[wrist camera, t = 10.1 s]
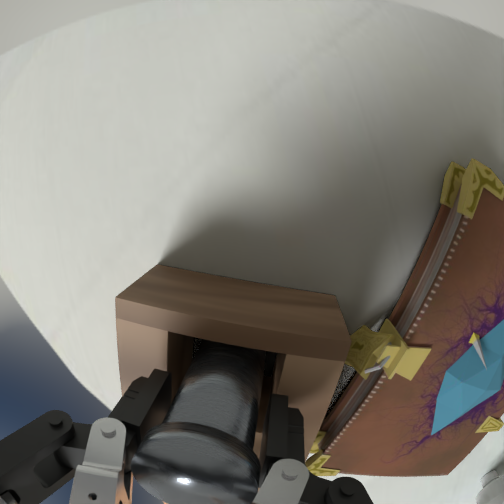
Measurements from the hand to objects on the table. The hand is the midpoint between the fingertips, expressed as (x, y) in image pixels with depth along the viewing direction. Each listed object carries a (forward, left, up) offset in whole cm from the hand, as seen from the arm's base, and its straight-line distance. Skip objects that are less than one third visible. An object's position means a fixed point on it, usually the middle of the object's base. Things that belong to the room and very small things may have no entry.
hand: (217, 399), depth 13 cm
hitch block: (+3, 0, -6) cm, 6 cm away
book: (-3, +15, -6) cm, 16 cm away
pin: (0, 0, -4) cm, 4 cm away
